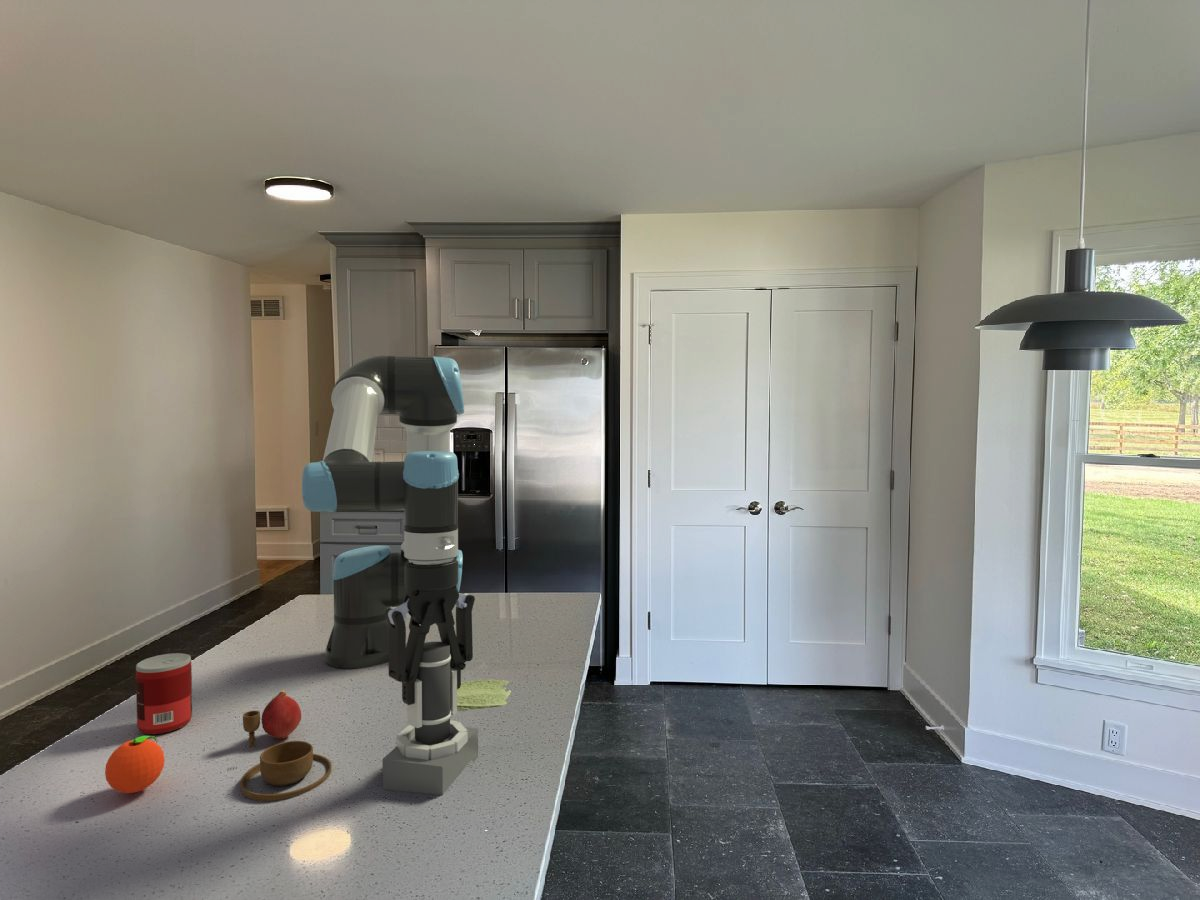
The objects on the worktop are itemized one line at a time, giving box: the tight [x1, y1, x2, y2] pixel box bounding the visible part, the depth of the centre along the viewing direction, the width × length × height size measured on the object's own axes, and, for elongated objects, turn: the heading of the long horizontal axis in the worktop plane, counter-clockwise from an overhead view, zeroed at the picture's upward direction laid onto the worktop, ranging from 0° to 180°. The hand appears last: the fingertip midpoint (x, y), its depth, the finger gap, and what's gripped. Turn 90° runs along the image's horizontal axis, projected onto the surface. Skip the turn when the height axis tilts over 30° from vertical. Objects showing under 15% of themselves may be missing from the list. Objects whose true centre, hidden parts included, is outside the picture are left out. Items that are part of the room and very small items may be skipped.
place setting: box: [226, 710, 333, 802], centre depth 103 cm, size 18×20×6 cm
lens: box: [415, 641, 452, 743], centre depth 100 cm, size 5×5×13 cm
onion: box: [260, 690, 302, 740], centre depth 112 cm, size 6×6×8 cm
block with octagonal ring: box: [382, 719, 479, 796], centre depth 101 cm, size 12×9×6 cm
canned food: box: [135, 652, 193, 735], centre depth 117 cm, size 8×8×11 cm
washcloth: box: [457, 678, 512, 712], centre depth 126 cm, size 13×18×3 cm
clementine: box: [104, 735, 166, 794], centre depth 97 cm, size 8×7×7 cm
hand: (432, 717), depth 100 cm, fingers closed on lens, 5 cm apart
